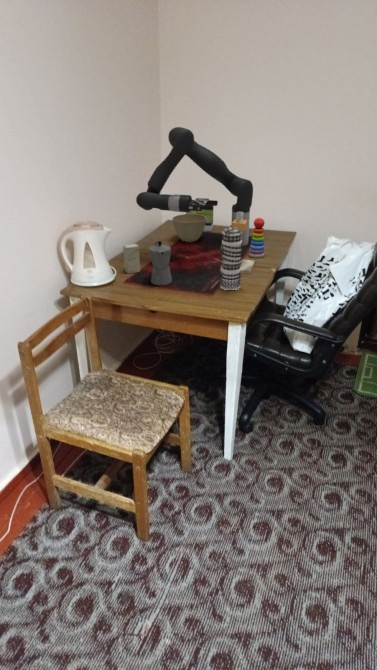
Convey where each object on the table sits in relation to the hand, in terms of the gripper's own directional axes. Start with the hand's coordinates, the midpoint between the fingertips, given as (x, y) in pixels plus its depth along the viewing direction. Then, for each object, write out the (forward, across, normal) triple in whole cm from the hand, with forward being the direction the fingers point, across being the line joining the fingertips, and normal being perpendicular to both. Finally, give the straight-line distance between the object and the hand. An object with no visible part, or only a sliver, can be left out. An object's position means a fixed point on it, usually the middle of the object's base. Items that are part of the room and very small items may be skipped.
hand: (215, 205), depth 201 cm
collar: (+11, 0, +9) cm, 15 cm away
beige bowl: (-22, +36, +28) cm, 50 cm away
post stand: (+11, 0, +28) cm, 30 cm away
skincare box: (-35, -16, +29) cm, 48 cm away
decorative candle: (+12, -23, +28) cm, 39 cm away
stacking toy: (+18, +18, +28) cm, 38 cm away
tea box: (-22, +58, +28) cm, 67 cm away
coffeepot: (-18, -23, +29) cm, 41 cm away
